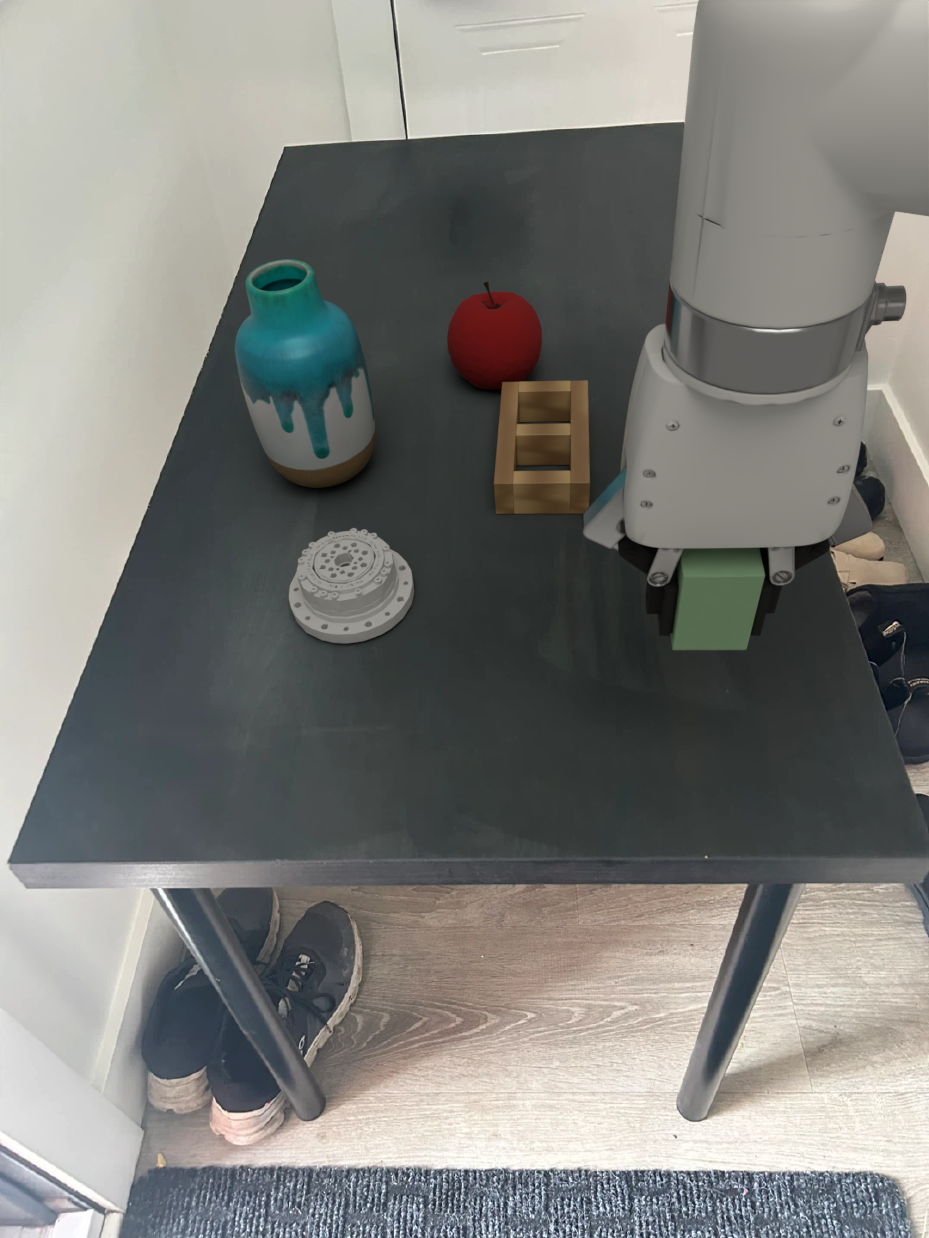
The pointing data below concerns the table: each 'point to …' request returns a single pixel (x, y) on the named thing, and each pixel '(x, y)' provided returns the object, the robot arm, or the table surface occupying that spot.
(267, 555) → the table surface
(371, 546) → the mechanical component
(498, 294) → the apple
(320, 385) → the vase
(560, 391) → the wooden rectangular frame
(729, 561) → the green block
